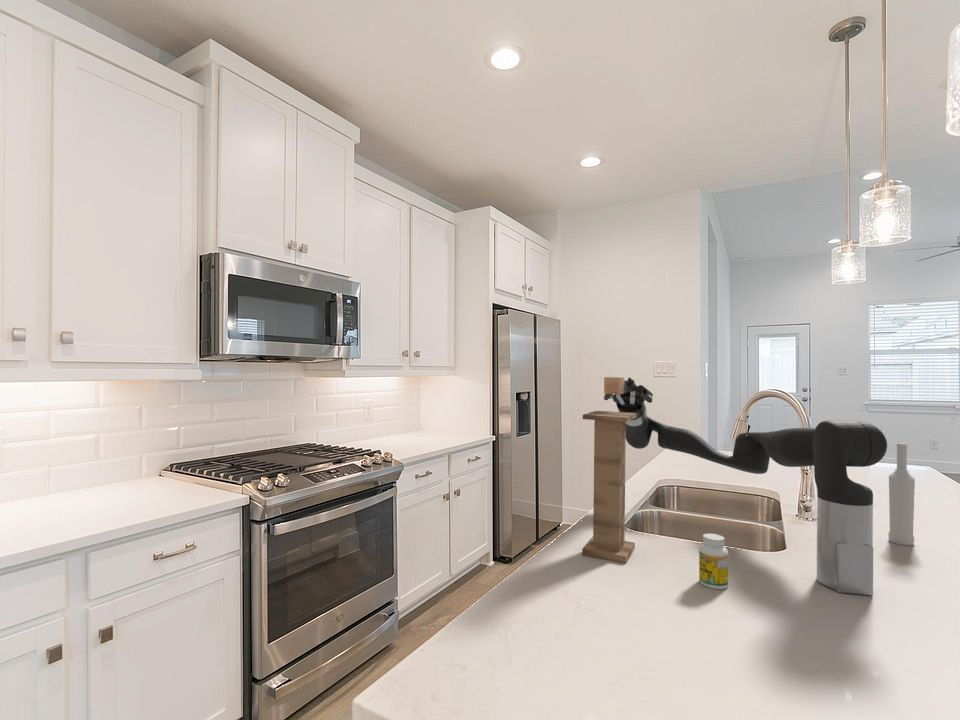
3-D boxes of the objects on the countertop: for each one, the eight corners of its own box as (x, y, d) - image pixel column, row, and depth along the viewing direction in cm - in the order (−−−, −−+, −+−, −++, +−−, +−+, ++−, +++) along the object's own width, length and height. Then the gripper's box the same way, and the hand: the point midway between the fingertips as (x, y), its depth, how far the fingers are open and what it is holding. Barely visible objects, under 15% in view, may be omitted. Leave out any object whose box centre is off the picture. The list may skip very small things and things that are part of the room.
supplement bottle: (734, 588, 101) (734, 539, 101) (712, 591, 99) (712, 542, 99) (714, 577, 106) (714, 531, 106) (693, 580, 104) (693, 533, 104)
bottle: (904, 539, 131) (905, 442, 131) (920, 546, 126) (920, 445, 126) (883, 538, 131) (883, 441, 132) (897, 545, 126) (898, 444, 126)
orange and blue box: (619, 390, 141) (619, 376, 141) (634, 391, 139) (634, 376, 139) (603, 393, 125) (604, 377, 125) (620, 394, 123) (620, 377, 123)
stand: (594, 540, 127) (595, 410, 127) (635, 547, 122) (636, 412, 123) (581, 556, 116) (582, 414, 116) (625, 564, 112) (627, 417, 112)
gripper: (656, 422, 143) (648, 394, 130) (606, 418, 149) (593, 391, 136) (658, 398, 146) (651, 369, 133) (609, 396, 153) (597, 367, 139)
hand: (622, 380), depth 135 cm, fingers closed on orange and blue box, 3 cm apart
